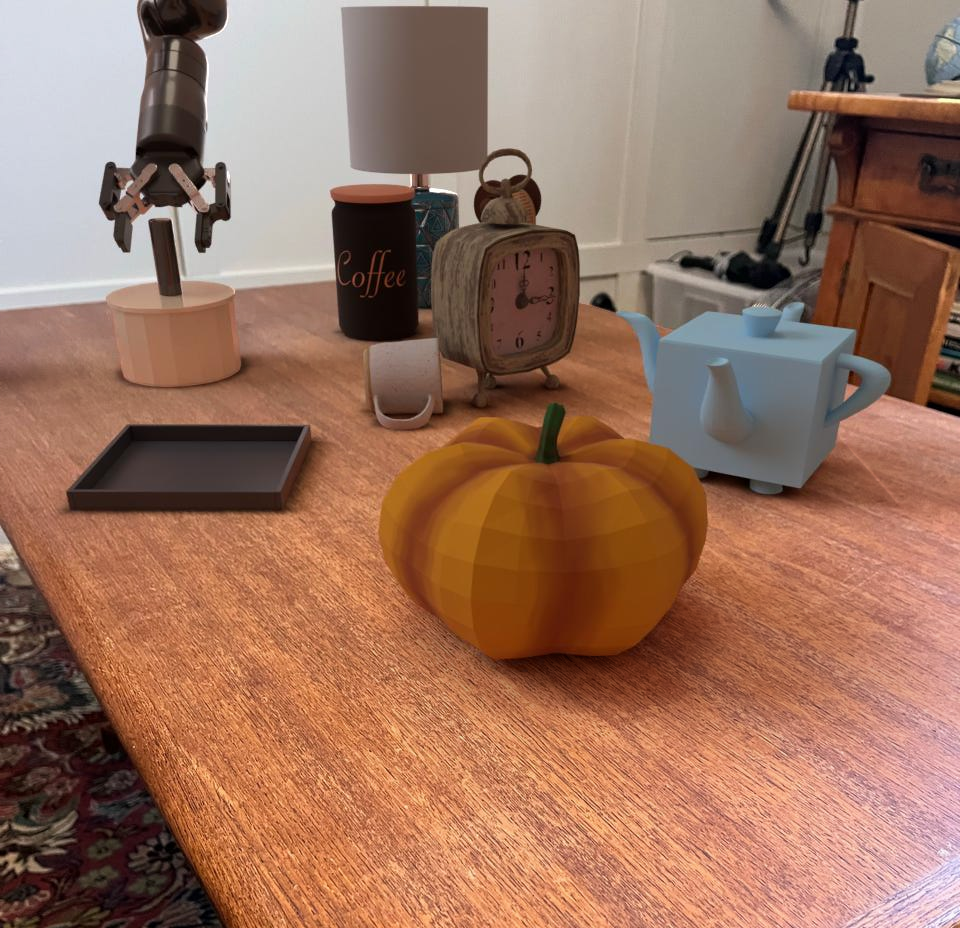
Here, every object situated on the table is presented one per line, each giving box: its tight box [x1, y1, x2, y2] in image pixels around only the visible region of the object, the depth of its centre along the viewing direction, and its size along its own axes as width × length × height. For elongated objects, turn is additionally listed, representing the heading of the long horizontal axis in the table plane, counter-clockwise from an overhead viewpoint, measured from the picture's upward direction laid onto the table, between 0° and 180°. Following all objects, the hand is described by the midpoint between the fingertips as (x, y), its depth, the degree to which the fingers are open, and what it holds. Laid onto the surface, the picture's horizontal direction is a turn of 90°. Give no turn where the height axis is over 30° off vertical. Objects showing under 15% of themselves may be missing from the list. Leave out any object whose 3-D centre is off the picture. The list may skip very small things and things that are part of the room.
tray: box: [65, 423, 312, 512], centre depth 93 cm, size 18×17×2 cm
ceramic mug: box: [362, 337, 444, 431], centre depth 105 cm, size 11×8×8 cm
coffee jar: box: [329, 183, 420, 342], centre depth 132 cm, size 11×11×18 cm
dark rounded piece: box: [473, 173, 542, 225], centre depth 127 cm, size 15×15×20 cm
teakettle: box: [615, 301, 892, 495], centre depth 91 cm, size 19×19×15 cm
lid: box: [105, 217, 236, 314], centre depth 115 cm, size 14×14×9 cm
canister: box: [110, 299, 242, 388], centre depth 119 cm, size 14×14×8 cm
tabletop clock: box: [431, 147, 581, 409], centre depth 108 cm, size 14×9×25 cm, turn 129°
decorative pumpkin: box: [377, 401, 709, 660], centre depth 67 cm, size 20×22×15 cm
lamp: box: [340, 5, 489, 309], centre depth 142 cm, size 19×19×38 cm
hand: (162, 248), depth 113 cm, fingers open, 8 cm apart
